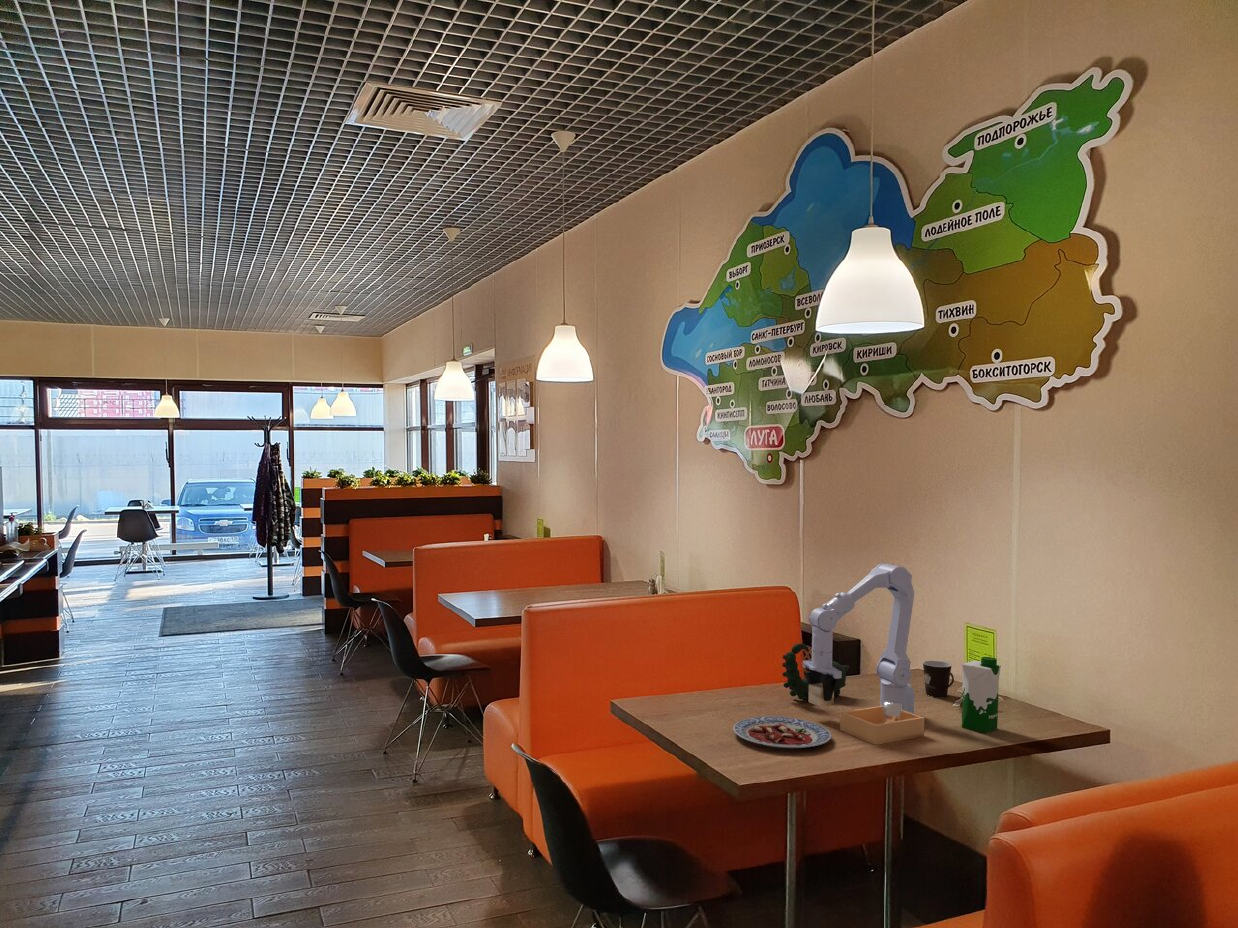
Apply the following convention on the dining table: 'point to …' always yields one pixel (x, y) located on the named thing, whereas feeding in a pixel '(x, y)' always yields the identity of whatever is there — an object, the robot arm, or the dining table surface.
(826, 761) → the dining table surface
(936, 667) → the coffee mug
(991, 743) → the dining table surface
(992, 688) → the milk carton
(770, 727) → the ceramic plate
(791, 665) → the toy figurine
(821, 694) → the beech cube
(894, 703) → the steel cylinder
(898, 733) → the light wood open box
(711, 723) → the dining table surface
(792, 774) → the dining table surface
